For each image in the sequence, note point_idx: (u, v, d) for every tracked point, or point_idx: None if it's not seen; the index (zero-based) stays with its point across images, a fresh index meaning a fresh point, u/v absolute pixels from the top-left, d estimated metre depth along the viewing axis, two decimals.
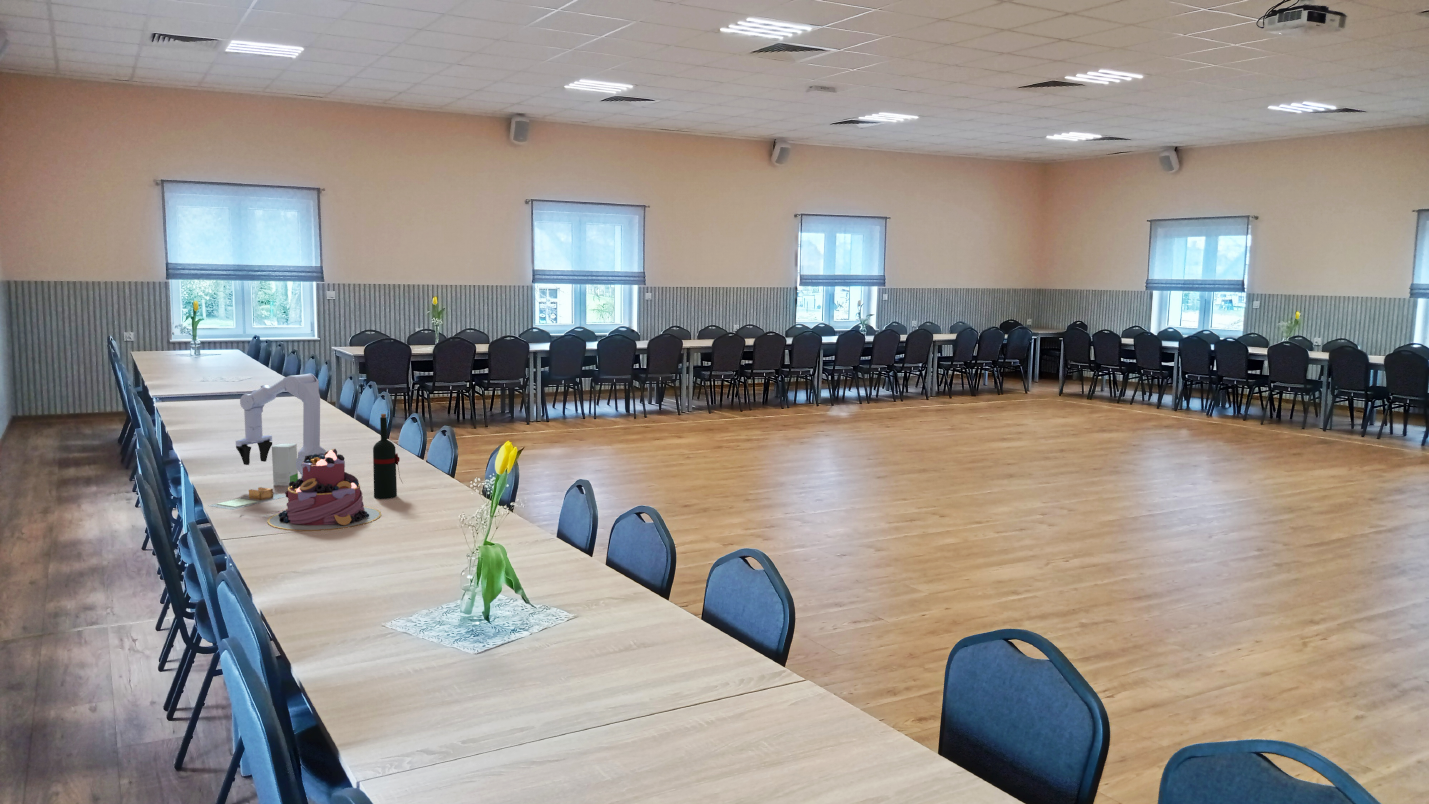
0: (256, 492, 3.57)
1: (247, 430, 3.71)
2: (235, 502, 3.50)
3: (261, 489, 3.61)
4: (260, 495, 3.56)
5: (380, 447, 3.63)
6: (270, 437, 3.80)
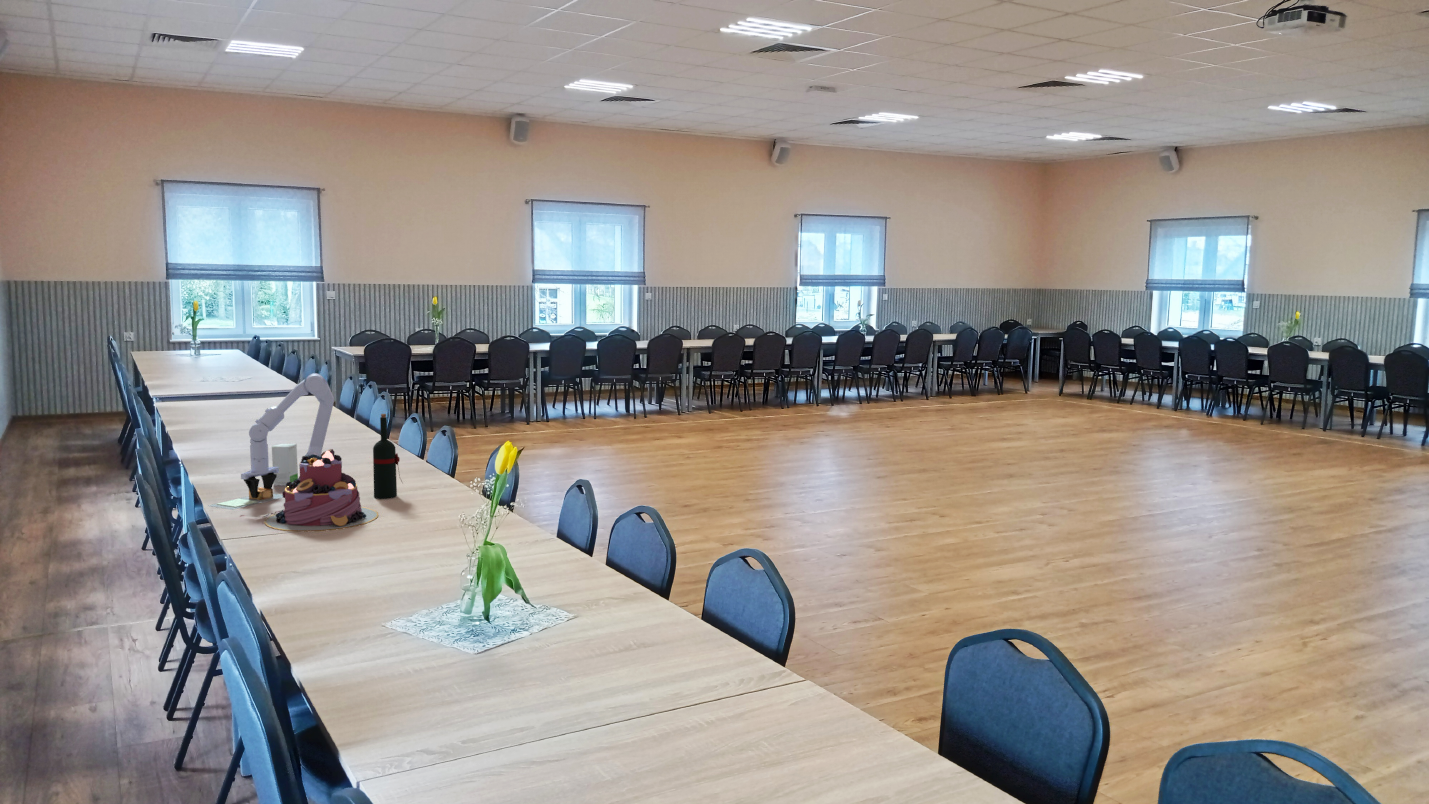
0: None
1: (253, 462, 3.55)
2: (235, 502, 3.50)
3: (261, 489, 3.61)
4: (260, 495, 3.56)
5: (380, 447, 3.63)
6: (277, 469, 3.64)
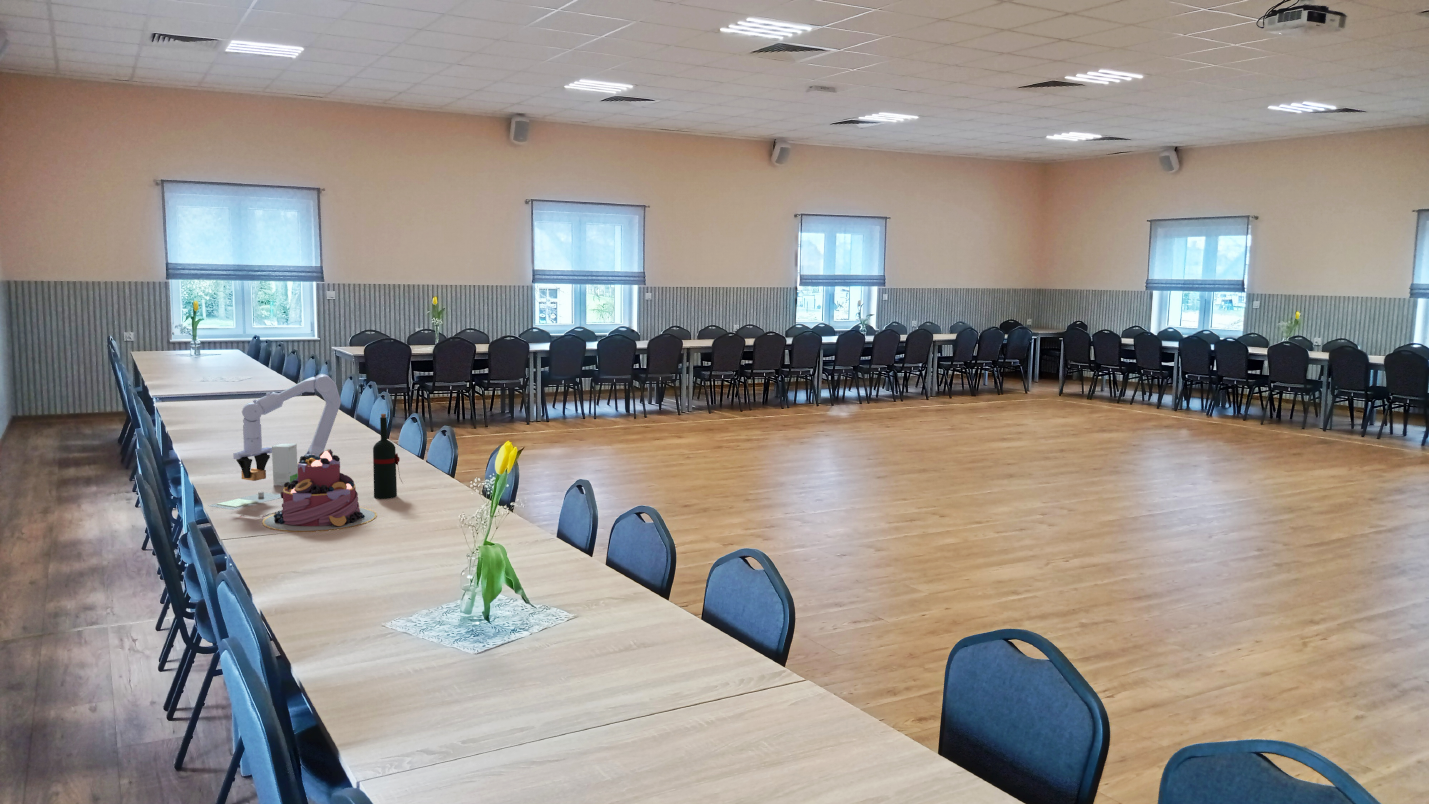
0: None
1: (246, 442, 3.52)
2: (235, 502, 3.50)
3: (254, 470, 3.58)
4: (252, 475, 3.53)
5: (380, 447, 3.63)
6: (270, 449, 3.60)
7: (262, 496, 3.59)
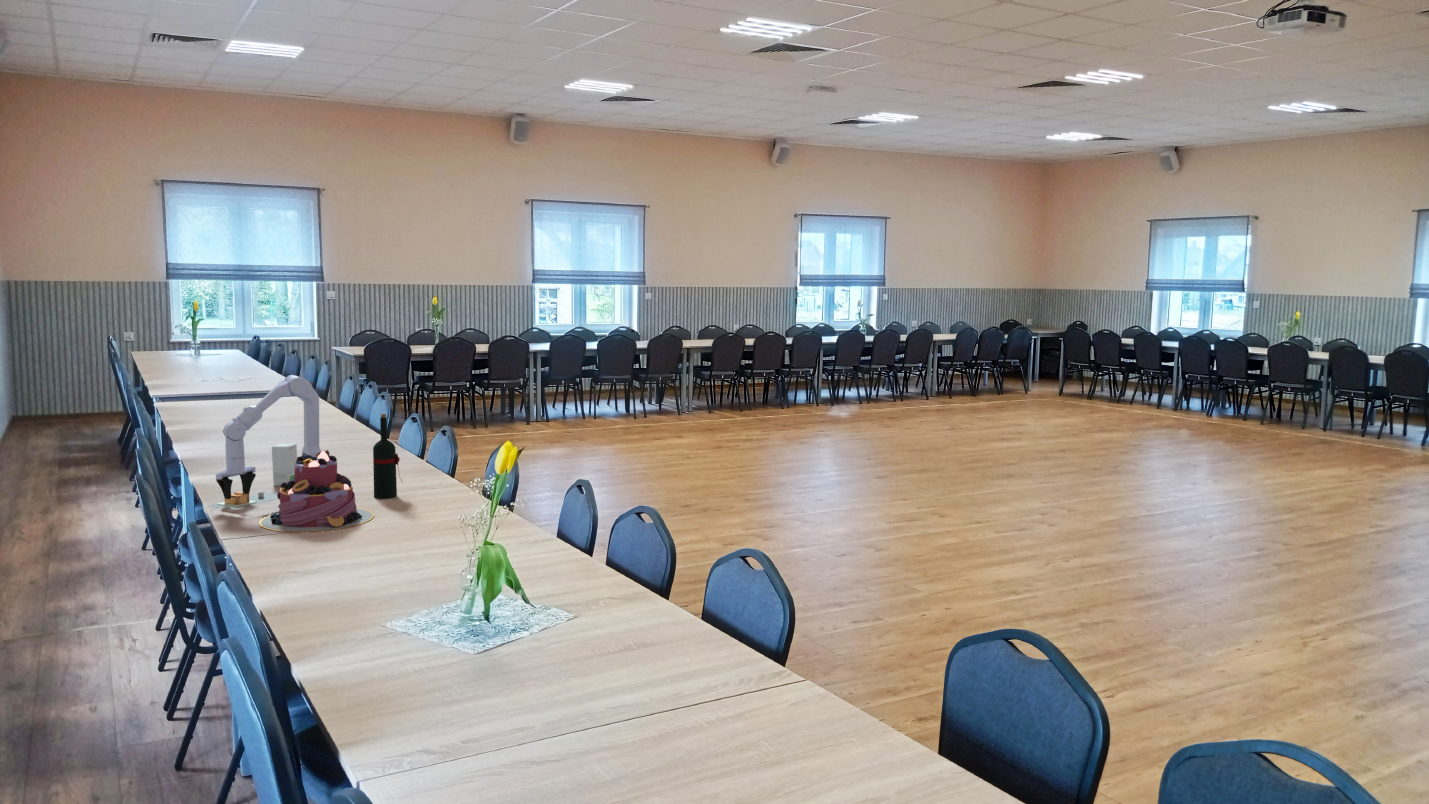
0: (232, 497, 3.47)
1: (228, 462, 3.46)
2: None
3: (237, 494, 3.52)
4: (235, 499, 3.47)
5: (380, 447, 3.63)
6: (253, 468, 3.54)
7: (262, 496, 3.59)
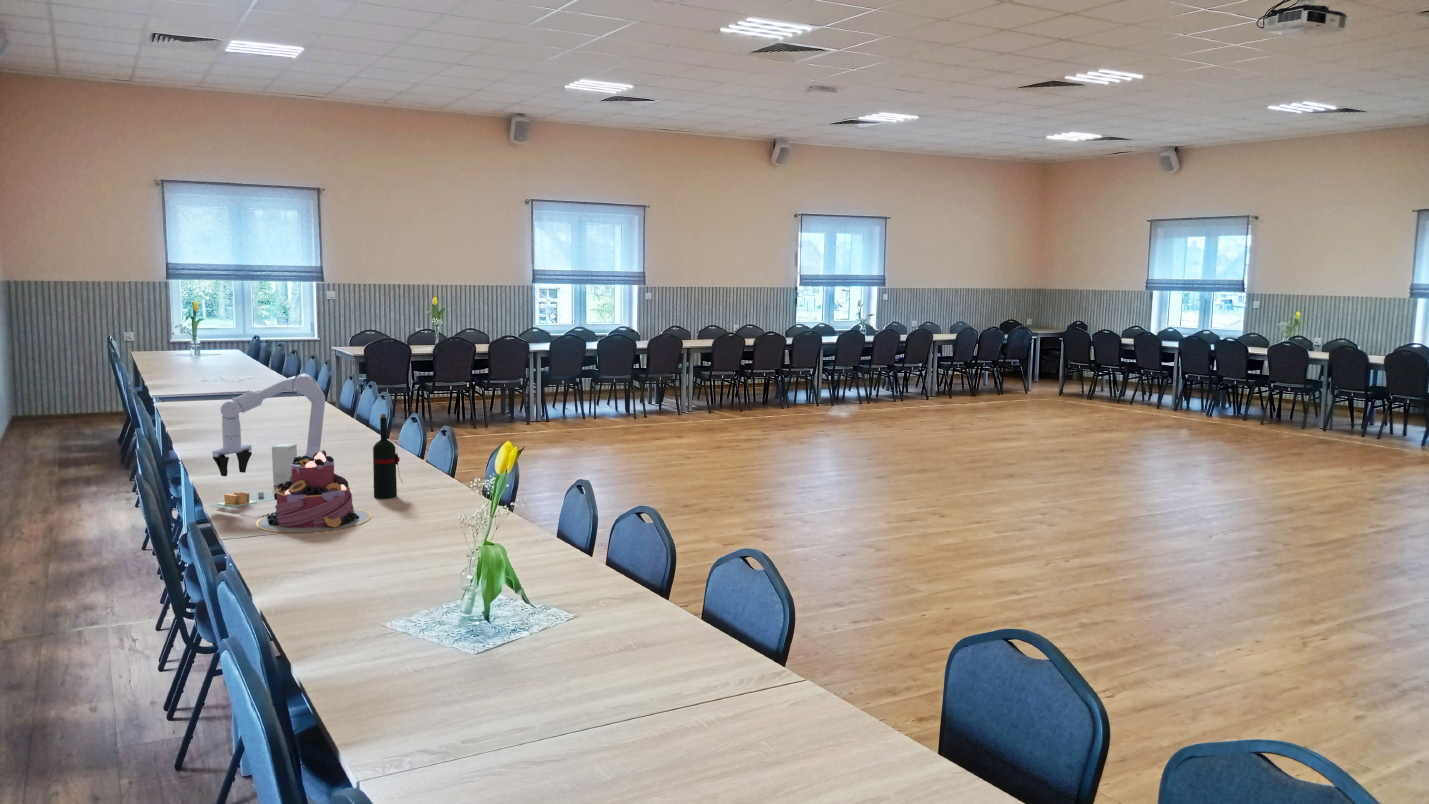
0: (232, 497, 3.47)
1: (225, 439, 3.51)
2: None
3: (237, 494, 3.52)
4: (235, 499, 3.47)
5: (380, 447, 3.63)
6: (249, 447, 3.60)
7: (262, 496, 3.59)
